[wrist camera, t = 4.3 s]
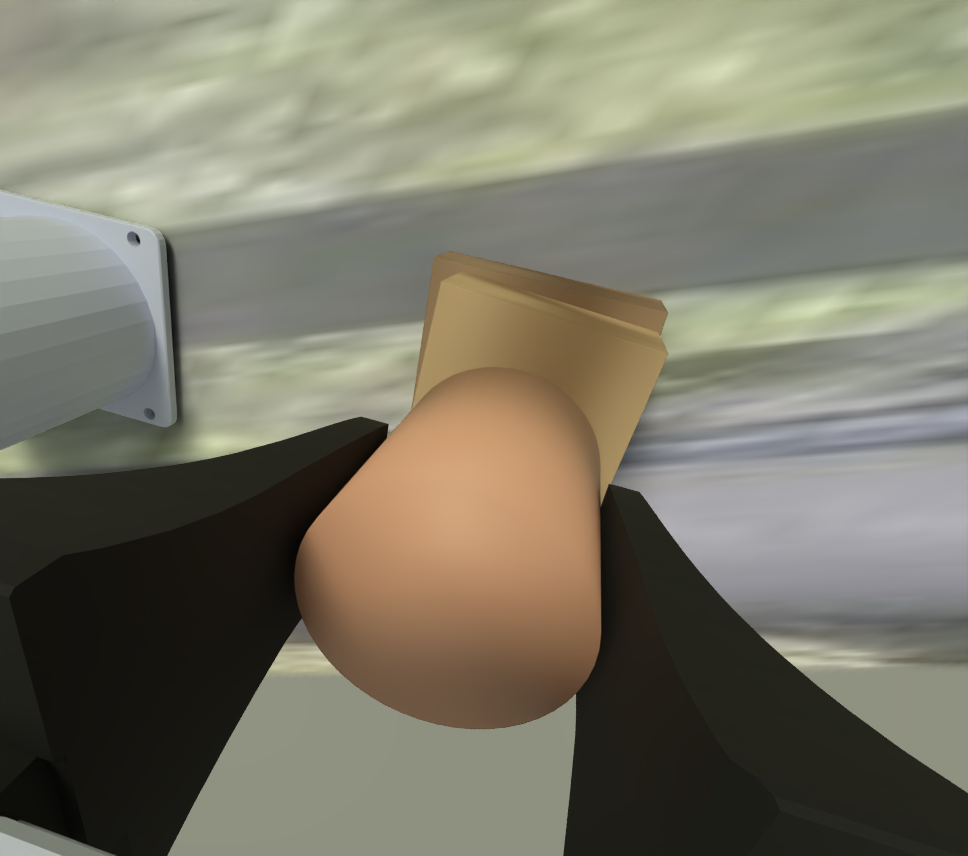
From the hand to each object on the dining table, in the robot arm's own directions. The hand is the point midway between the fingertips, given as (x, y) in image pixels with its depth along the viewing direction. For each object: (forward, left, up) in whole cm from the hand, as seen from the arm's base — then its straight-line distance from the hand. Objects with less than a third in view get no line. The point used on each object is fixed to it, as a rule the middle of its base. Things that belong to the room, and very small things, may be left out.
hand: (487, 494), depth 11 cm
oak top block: (0, 0, -6) cm, 7 cm away
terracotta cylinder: (0, 0, -1) cm, 1 cm away
